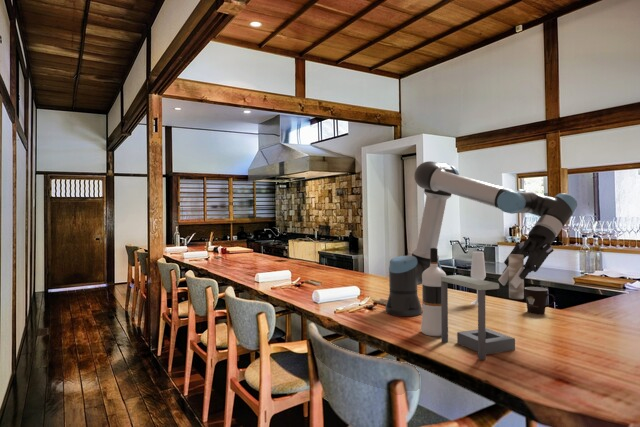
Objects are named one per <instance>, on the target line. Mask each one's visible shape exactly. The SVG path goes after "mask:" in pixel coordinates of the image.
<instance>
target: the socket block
mask: <svg viewBox="0 0 640 427" xmlns="http://www.w3.org/2000/svg"><path fill="white" fill-rule="evenodd" d="M456 338H457V339H456V341H457V344H459V345H461V346H463V347H466V348H468V349H470V350H472V351H475V352H476V353H478V329H471V330H464V331H457V333H456ZM510 351H516V338H515V337H512V336H509V335H506V334H503V333H500V332H498V331H495V330H493V329H490V328H487V327H486V355H492V354H499V353H503V352H505V353H506V352H510Z"/></svg>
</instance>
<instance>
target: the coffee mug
mask: <svg viewBox="0 0 640 427" xmlns="http://www.w3.org/2000/svg"><path fill="white" fill-rule="evenodd" d="M548 291H549V290H548V289H547V288H546V287H545V288H544V287H539V286H536V287H535V286H526V287H525V286H524V297H525V303H526V310H527V313H529V314H533V315H545V314H544V313H546V308H547V307H549V306H551V305H553V304H554V303H555V302H556V297H555V296H554V294H551V293H548ZM548 296H551V297H552V299H553V301H552V302H550V303H549V304H547V297H548Z"/></svg>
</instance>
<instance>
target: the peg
mask: <svg viewBox="0 0 640 427" xmlns="http://www.w3.org/2000/svg"><path fill="white" fill-rule="evenodd" d="M508 256H509V280H508V298H509V299H514V300H523V299H525V279H523V280H522V281H521V283H520V284H519V286H518V287H517V288H514V286H513V285H512V284H511V283H510V282H511V280H512V279H513V278H514V276H515V275H516V273H517V272H518V271H519V269H520V268H521V267H523V265H525V264H524V262H525V261H524V255H521V254H510V253H509V254H508ZM523 268H524V267H523Z"/></svg>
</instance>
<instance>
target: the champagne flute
mask: <svg viewBox="0 0 640 427" xmlns="http://www.w3.org/2000/svg"><path fill="white" fill-rule="evenodd" d="M471 255H472V256H471V266H470V278H475V279H480V280H485V279H486V277H487V273H486V264H485V254H484V251H472V254H471ZM470 304H471V305H474V306H475V305H476V306H478V290H477V289H476V299H475V300H473V301H472V302H470ZM486 305H487V304H486V302H485V306H486Z"/></svg>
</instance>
